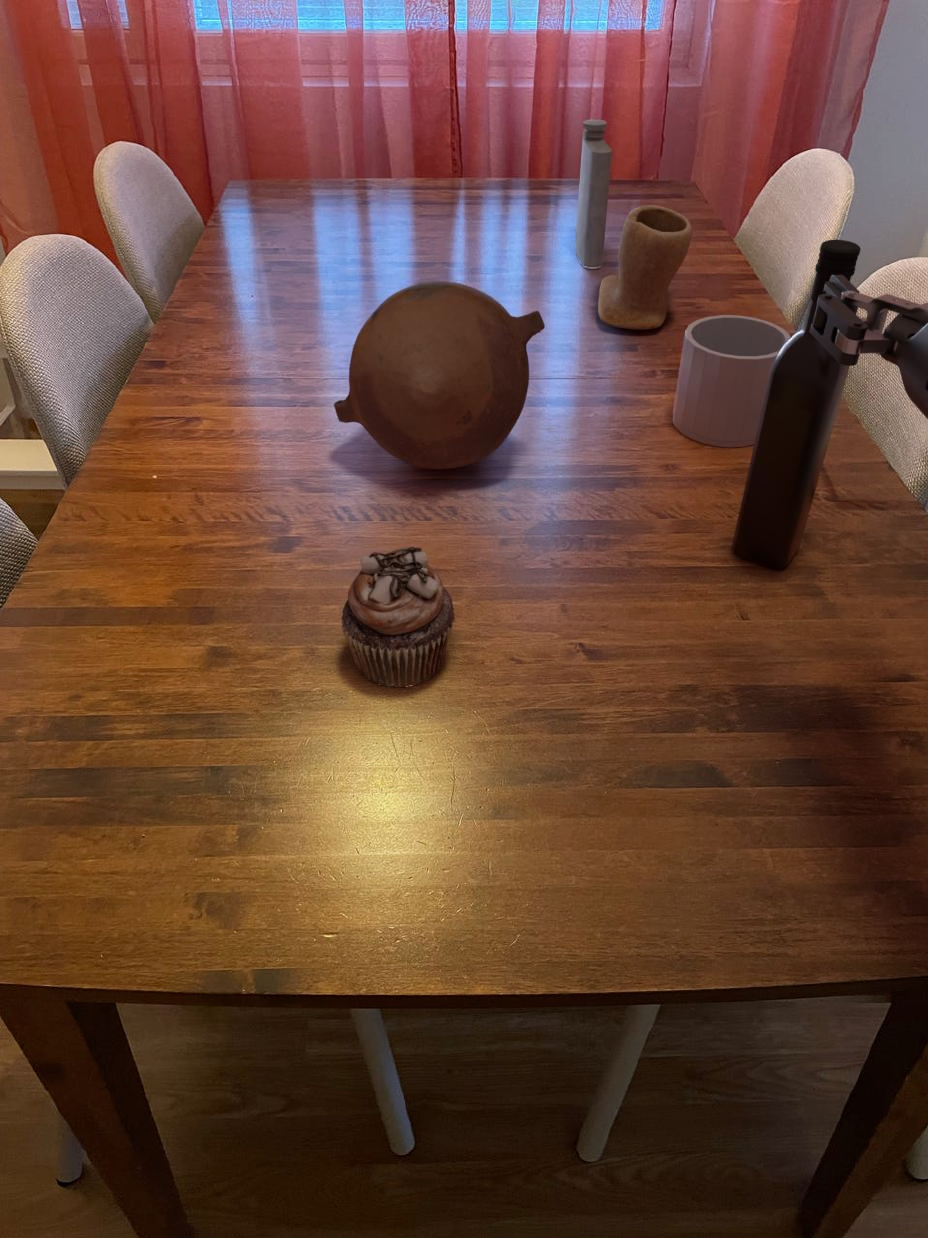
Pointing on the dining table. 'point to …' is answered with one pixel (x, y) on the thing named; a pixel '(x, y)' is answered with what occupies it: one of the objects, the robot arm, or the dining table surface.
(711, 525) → the dining table surface
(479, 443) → the jug
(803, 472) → the wine bottle
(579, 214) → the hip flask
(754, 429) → the cup
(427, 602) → the cupcake
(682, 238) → the brown boot vase
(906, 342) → the robot arm
